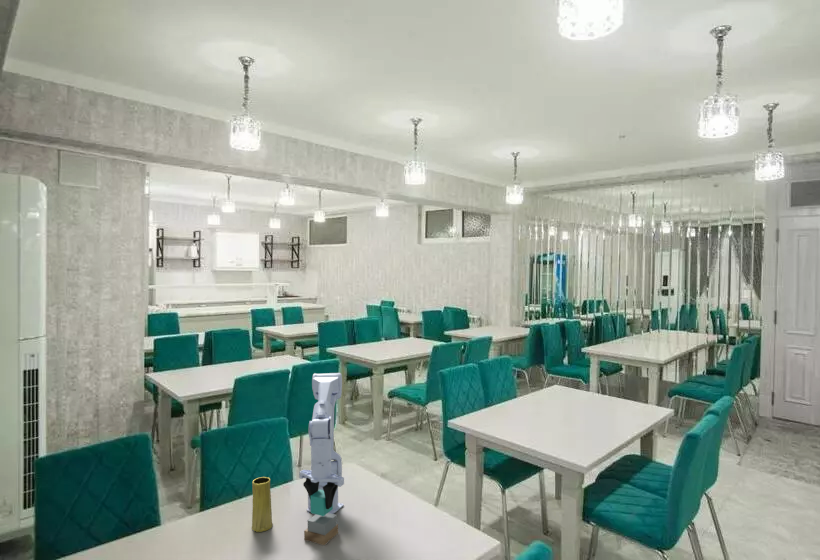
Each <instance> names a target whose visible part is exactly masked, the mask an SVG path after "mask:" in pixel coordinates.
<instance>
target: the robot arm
mask: <svg viewBox="0 0 820 560" xmlns="http://www.w3.org/2000/svg"><path fill="white" fill-rule="evenodd" d="M311 388H312V392H313V393H312V394H313V396H314V399H315V400H317V402H316V403H314V405H313V410H312V411H313V412H312V417H311V420H309V423H308V438H309V446H310V455H311V456H310V470H309V469H302V470H300V471H299V479H301V480H302V479H305V481H304V482H303V483H302V485H303V487H304V488H305V490H306V492H307V508H306V511H307V512H310V513H311V495H313V494H314V493H315V492H317V491H318V490H324V494H325V503H326V509H329V508H331V507H332V503H333V509H332V510H331V511H330V512H328V513H330V514H335V513H337V512H338V511H339V510H341V508H343V507H344V506H345V505H344V503H340V502H339V487H343V485H345V477H344V476H343V461H342V456H341V454H339V453H338V452H336V451H335V450H334V445H335V444H334V443H335V442H334V441H335V440H334V439H335V438H334V437H335V433H334V432H335V405H336V403H337V400H338V399H341V398H342V395H343V394H342V391H343V374H342V373H341V372H329V373H328V372H327V373H326V372H325V373H316V372H314V373H313V374H312V379H311Z"/></svg>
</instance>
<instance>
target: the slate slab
mask: <svg viewBox="0 0 820 560" xmlns="http://www.w3.org/2000/svg"><path fill="white" fill-rule="evenodd" d="M337 518H338V517H337V514H335V513H334V514H330V513H327V514H326V515H325V516H321V515H317V514H314V515H313V516H311V517H310V518H309V519H308V520H307V528H308V531H310V532H314V533H318V534H322V535H326V534H327V533H328V532H329V531H331V530H332V529H333V528H334V527H335V526H336V525H337V524H338V520H337Z"/></svg>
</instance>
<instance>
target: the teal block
mask: <svg viewBox="0 0 820 560" xmlns="http://www.w3.org/2000/svg"><path fill="white" fill-rule="evenodd" d="M332 509H333V503H332V507H331V508H329V509H326V503H325V494H324V490H318V491H317V492H315V493H314V494H313V495H311V512H310V513H311V515H312V514H314V515H315V514H317V515H321V516H325V515H326V514H327V513H328V512H330V511H331V510H332Z"/></svg>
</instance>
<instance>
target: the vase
mask: <svg viewBox="0 0 820 560" xmlns="http://www.w3.org/2000/svg"><path fill="white" fill-rule="evenodd" d="M251 484H252V485H251V486H252V510H251V511H252V513H251V514H252V516H251V530H252V531H253V530H254V531H253V532H255V531H256V532H255V533H263V531H264V532H267V531H268V530H271V528H272V527H273V519H272V516H273V512H272V494H271V493H272V492H271V478H270V477H269V476H268V477H267V476H261V477H257V478H255V479H253V480H252V483H251Z"/></svg>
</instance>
